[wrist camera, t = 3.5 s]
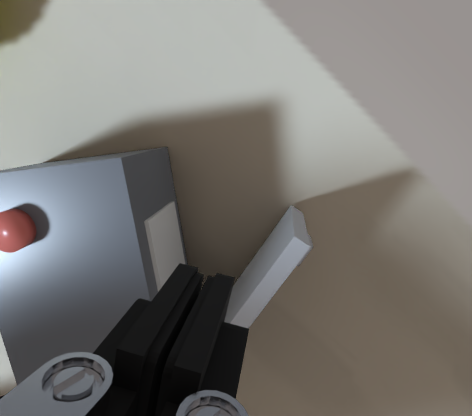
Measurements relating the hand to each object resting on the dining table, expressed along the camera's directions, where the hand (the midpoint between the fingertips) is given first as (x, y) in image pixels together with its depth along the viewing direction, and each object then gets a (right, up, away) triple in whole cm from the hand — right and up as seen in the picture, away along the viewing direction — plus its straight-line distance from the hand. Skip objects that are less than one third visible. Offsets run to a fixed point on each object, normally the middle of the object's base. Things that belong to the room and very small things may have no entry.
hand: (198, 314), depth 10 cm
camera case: (-6, 0, +12) cm, 13 cm away
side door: (+2, -1, +11) cm, 11 cm away
